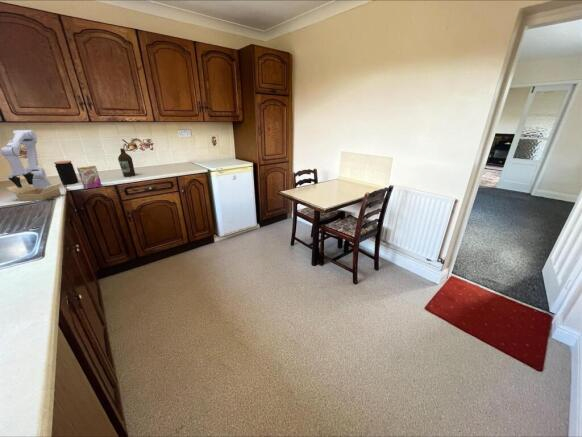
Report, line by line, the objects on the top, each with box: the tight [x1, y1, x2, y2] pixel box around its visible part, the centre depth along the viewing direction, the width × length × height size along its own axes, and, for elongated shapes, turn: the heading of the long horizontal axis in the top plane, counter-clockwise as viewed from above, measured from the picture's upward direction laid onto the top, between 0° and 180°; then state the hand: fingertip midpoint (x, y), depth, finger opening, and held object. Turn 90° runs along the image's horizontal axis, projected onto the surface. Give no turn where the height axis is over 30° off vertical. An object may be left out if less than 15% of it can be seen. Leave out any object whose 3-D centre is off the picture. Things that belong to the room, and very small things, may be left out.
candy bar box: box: [76, 164, 103, 190], centre depth 188 cm, size 11×5×16 cm, turn 141°
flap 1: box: [6, 182, 35, 195], centre depth 165 cm, size 13×6×1 cm
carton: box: [15, 187, 62, 202], centre depth 167 cm, size 14×16×4 cm
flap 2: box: [42, 181, 63, 193], centre depth 166 cm, size 13×6×1 cm
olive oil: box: [117, 147, 136, 178], centre depth 222 cm, size 11×11×25 cm
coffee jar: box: [53, 160, 79, 186], centre depth 200 cm, size 11×11×18 cm
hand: (25, 185), depth 164 cm, fingers open, 7 cm apart
